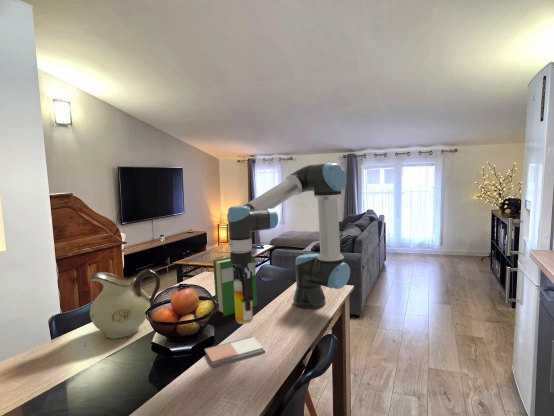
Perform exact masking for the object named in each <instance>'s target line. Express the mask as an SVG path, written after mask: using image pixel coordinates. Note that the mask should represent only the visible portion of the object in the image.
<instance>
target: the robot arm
mask: <svg viewBox="0 0 554 416" xmlns="http://www.w3.org/2000/svg"><path fill="white" fill-rule="evenodd" d="M347 182H348V181H347V173H346V171H345V169H344V168H343V167H342V166H341V165H340V164H338V163H331V162H327V163H320V164H319V163H318V164H309V165H305V166H303V167H301V168H300V169H297V170H296V171H294V172H293V173H291V174H289V175H287V176H286V177H285V179H284V180H283V181H282V182H280V183H278V184H277V185H275V186H274V187H272V188H270V189H268V190H267V191H265V192H264V193H262V194H260V195H259V196H257V197H255V198H254V199H252V200H251V201H249V202H247V203H246V204H244V205H235V206H230V207H229V208H228V209H227V210H228V211H227V215H226V220H227V223H228V226H227V227H228V238H229V240H228V241H229V242H228V244H227V245H228V246H229V251H230V253H229V257H230V261H231V263H233V264H235V265H233V266H232V267H233V280H234V281H235V279H239V281H241V282H242V292H243V299H244V300H243V301H242V302H243V318H244V320H249V319H252V313H251V301H253V286H252V272H249V268H248V263H250V262H251V261H252V255H253V252H252V249H253V246H252V233H253V232H260V231H265V230H268V231H269V230H272V229H275V228H276V227H277V226H278V224H279V215H278V212H277V210H275V208H276V207H278V206H280V205H281V204H284V202H286V201H287V200H289V199H290V198H291V197H294V196H299V195H300V194H303V193H304V192H305V193H306V192H313V196H314V197H315V198H316V199H317V208H318V209H317V211H318V212H317V213H318V232H319V249H320V250H319V253H308V254H307V253H306V254H301V255H298V256H297V257H295V265H294V267H295V280H296V281H295V282H296V283H295V284H296V286H295V287H296V289H295V292H294V294H293V305H294V306H295V307H297V308H301V309H308V310H309V309H317V308H321V307H323V306H325V304H327V303H326V296H325V293H324V291H323V287H325V288H329V289H335V290H341V289H343V288H344V287H345V286H346V284H347V283H348V281H349V279H350V277H351V268H350V266H349V264H348V263H346V262H345V257H344V256H345V255H343V254H342V253H341V242H340V240H341V239H340V238H341V237H340V220H339V219H340V218H339V198H340V196H341V195H342V191H343V190H344V189H345V188H346V185H347ZM243 278H244V279H243ZM252 320H253V319H252Z"/></svg>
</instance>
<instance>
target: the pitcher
mask: <svg viewBox="0 0 554 416" xmlns="http://www.w3.org/2000/svg"><path fill="white" fill-rule="evenodd" d="M146 277H152V278H153V279H154V281H155V287H154V290H153V291H152V293H151V295H150V296H149V294H148V293H147V292H146V291H145V290H143V289H142V288H141V287H142V282H143V279H145V278H146ZM88 280H89V281H94V282H98V283H100V284H101V285H102V286H103V288H102V291H100V293H99V294H98V295H97V297H96V298H94V300H93V302H92V304H91V306H90V309H89V317H90V320H91V322H92V324H93V325H94V326H95V327H96V328H97V329H98V330H99V331H100V332H102V333H104V334H105V337H106V338H108V337H109V339H122V337H123V338H126V336H127V337H130V336H131V335H134V334H135V333H137V332H138V331H139V330H140V327H141V326H142V324H143V323H144V322H146V321H145V320H147V318H146V316H145V312H146V311H147V310H148V309H149V308H150V307H151V305H152V303H153V304H154V301H155V297H156V295H157V294H158V292H159V290H160V287H161V278H160V275H159V274H158V273H157V272H156V271H154V270H152V269H150V268H147V269H145V270H141V272H139V273H138V274H137V275H136V277H135V276H134V277H131V278H129V277H128V278H126V277H122V276H119V275H117V274H116V275H115V274H114V273H111V272H107V271H97V272H96V273H94V274H92V275H91V276H90V277H89V279H88ZM129 335H130V336H129Z"/></svg>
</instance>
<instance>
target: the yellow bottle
mask: <svg viewBox="0 0 554 416" xmlns="http://www.w3.org/2000/svg"><path fill="white" fill-rule="evenodd" d="M243 279H244V278H243ZM234 299H235V313H234V314H235V315H234V316H235V321H236V322H237V323H238V324H241V325H246V324H249V323H251V322H252V321H253V319H254V311H253V308H254V307H252V301H251V313H252V319H249V320H244V318H243V302H242V301H243V300H244V299H243V292H242V282H241V281H239V279H235V281H234Z"/></svg>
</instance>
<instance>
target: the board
mask: <svg viewBox="0 0 554 416" xmlns="http://www.w3.org/2000/svg"><path fill="white" fill-rule="evenodd" d="M204 352H205V355H206V356H207V358H208V360H209V362H210V363H211V365H212V368H216V367H220V366H223V365H225V364H226V365H227V364H230V363H232V362H233V363H234V362H237V361H240V360H244V359H247V358H251V357H253V356H258V355H261V354H265V353H266V351H265V349H264V347H263V345H261V344H260V343H259V341H258V340H257V339H256V338H255V337H253V336H250V337H245V338H242V339H238V340H234V341H231V342H225V343H221V344H218V345H214V346H210V347H206V348H204Z"/></svg>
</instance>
